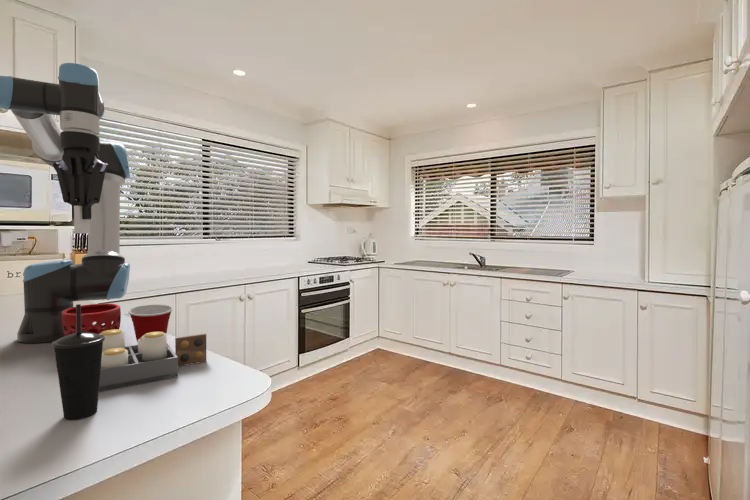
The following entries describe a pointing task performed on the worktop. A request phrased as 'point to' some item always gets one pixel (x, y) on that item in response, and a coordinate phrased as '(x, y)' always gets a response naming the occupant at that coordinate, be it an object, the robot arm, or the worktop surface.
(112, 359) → the button
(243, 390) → the worktop surface
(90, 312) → the plant pot
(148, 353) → the button
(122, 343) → the button
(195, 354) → the placard
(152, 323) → the plastic cup
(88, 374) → the drinking cup
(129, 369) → the button board
